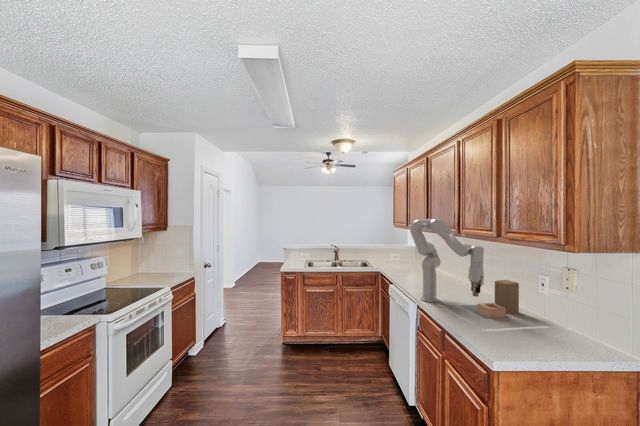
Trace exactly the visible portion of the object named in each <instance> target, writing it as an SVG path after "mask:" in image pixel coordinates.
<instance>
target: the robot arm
mask: <svg viewBox="0 0 640 426" xmlns="http://www.w3.org/2000/svg"><path fill="white" fill-rule="evenodd" d="M409 230H410V234H411V235H410V236H411V237H412V239H413V242H414V245H415V247H416V250H417V252H418V253H419V255H420V256H423V257H424V258H423V260H422V261H421V270H422V292H421V295H422V296H421V297H420V300H421V301H422V302H425V301H426V302H427V303H437V302H438V301H439V298H438V297H437V270H436V269H438V268H439V267H440V266H441V264H442V263H441V259H440V255H439V254H438V251H437V249H436V247H435V245H434V244H433V243H431V242H429V241H427V239H426V236H425V234H424V233H423V231H434V232H435V233H436V234H437V235H438V236H439V237H441V239H443V240H444V242H445V243H446V245H447V246H448V248H450V249H451V250H452V251H453V252H454V253H455V254H457V256H459V257H466V256H470V263H469V264H470V265H469V268H468V276H467V278H468V280H469V282H470V285H471V287H470V290H471V292H473V282H476V287H475V293H479V294H481V288H482V286H484V280H485V279H484V278H485V277H484V276H485V273H484V249H485V248H484V246H481V245H471V244H462V242H461V241H460V240H458V239H457V237H456V236H455V232H454V230H452V229H451V228H450V227H449V226H447V223H446V221H445V220H444V219H442V218H422V219H421V218H420V219H419V218H418V219H416V220H414V221H413V222H412V223H411V225H410V229H409ZM478 283H479V284H478ZM426 302H425V303H426Z"/></svg>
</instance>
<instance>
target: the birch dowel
mask: <svg viewBox="0 0 640 426" xmlns="http://www.w3.org/2000/svg"><path fill="white" fill-rule="evenodd" d="M478 284H479V283H478ZM475 287H476V282H473V291H472V296H473V297H479V295H480V293H475Z"/></svg>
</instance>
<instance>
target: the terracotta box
mask: <svg viewBox="0 0 640 426" xmlns="http://www.w3.org/2000/svg"><path fill="white" fill-rule="evenodd" d="M477 305H478V313H480V314H482V315H484V316H486V317H488V318H490V319H502V318H501V317H506V315H507V314H506V308H504V307H502V306H500V305H497V304H495V302H484V303H483V302H482V303H477Z"/></svg>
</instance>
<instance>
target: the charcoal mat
mask: <svg viewBox="0 0 640 426" xmlns="http://www.w3.org/2000/svg"><path fill="white" fill-rule="evenodd" d="M459 306H460V307H462V308H464V309H466V310H467V311H468V312H471V313H473V314H476V315H477V316H479V317H482V318H483V319H485V320H488V319H491V318H488V317H486V316H484V315H482V314H480V313H478V304H465V305H464V304H463V305H459ZM504 318H505V319H507V318H510V316H509V315H508V314H506V317H501V318H500V319H504Z"/></svg>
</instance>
